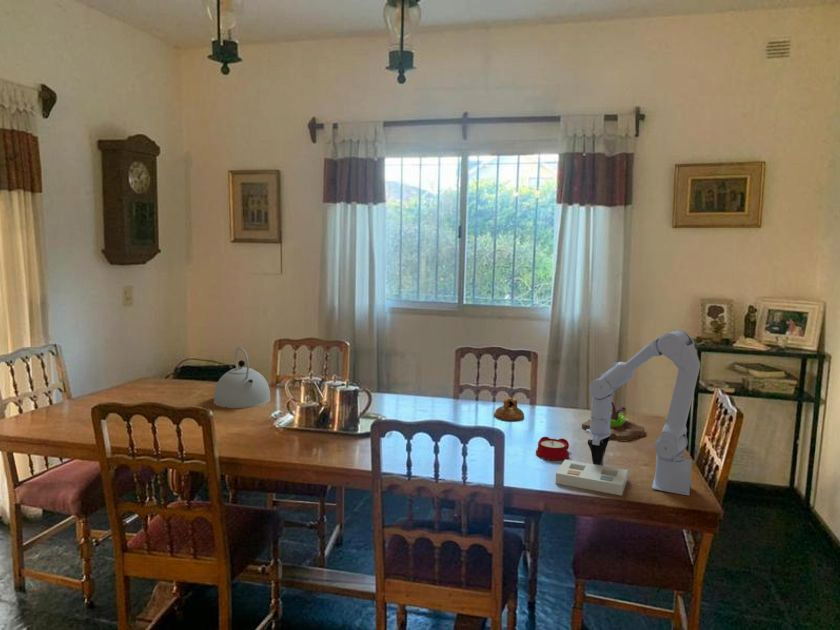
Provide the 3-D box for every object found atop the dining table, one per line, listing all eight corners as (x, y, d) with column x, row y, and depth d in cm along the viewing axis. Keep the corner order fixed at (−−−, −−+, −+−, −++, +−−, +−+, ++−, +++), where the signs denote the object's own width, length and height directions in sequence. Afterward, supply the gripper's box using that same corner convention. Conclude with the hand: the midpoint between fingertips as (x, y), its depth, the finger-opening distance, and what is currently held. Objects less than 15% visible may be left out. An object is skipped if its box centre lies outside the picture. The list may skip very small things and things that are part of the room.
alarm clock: (534, 449, 188) (539, 425, 201) (533, 466, 190) (538, 441, 203) (568, 453, 185) (571, 428, 198) (567, 470, 187) (570, 444, 200)
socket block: (627, 480, 173) (627, 469, 173) (621, 495, 162) (622, 484, 162) (564, 469, 181) (564, 458, 180) (555, 483, 170) (556, 472, 170)
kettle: (279, 405, 245) (278, 350, 242) (223, 412, 233) (221, 355, 230) (260, 391, 266) (259, 341, 263) (207, 397, 254) (206, 345, 251)
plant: (607, 420, 232) (609, 392, 231) (652, 434, 216) (654, 404, 215) (573, 429, 221) (574, 399, 219) (618, 444, 205) (620, 412, 204)
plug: (603, 467, 182) (605, 440, 181) (602, 471, 179) (603, 443, 178) (593, 466, 183) (595, 439, 182) (591, 469, 181) (593, 442, 180)
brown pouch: (523, 413, 239) (523, 395, 238) (524, 422, 227) (525, 403, 227) (493, 412, 241) (494, 394, 240) (493, 421, 229) (494, 402, 228)
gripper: (591, 409, 188) (588, 451, 189) (582, 421, 175) (580, 466, 176) (614, 412, 185) (612, 455, 186) (607, 425, 172) (605, 470, 173)
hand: (598, 461), depth 181 cm, fingers open, 5 cm apart
